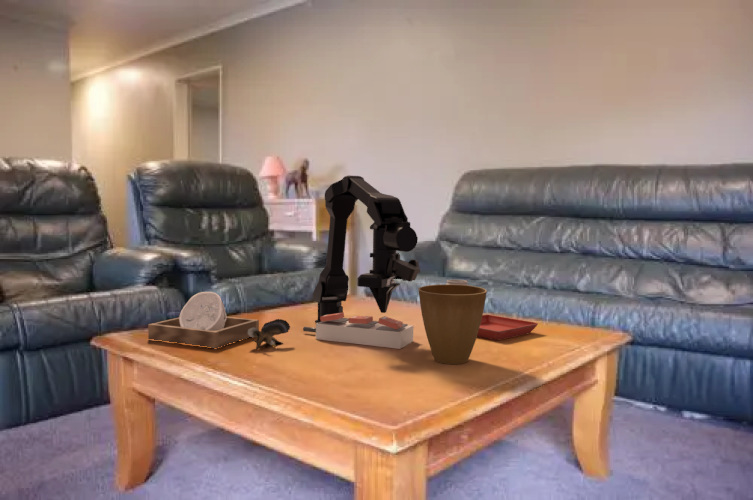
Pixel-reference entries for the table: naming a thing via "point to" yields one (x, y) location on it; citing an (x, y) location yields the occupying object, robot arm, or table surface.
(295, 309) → the table surface
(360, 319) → the rocker
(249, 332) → the eagle figurine
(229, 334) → the wooden tray
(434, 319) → the plant pot
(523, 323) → the plant saucer
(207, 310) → the grey flat disc
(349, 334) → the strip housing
